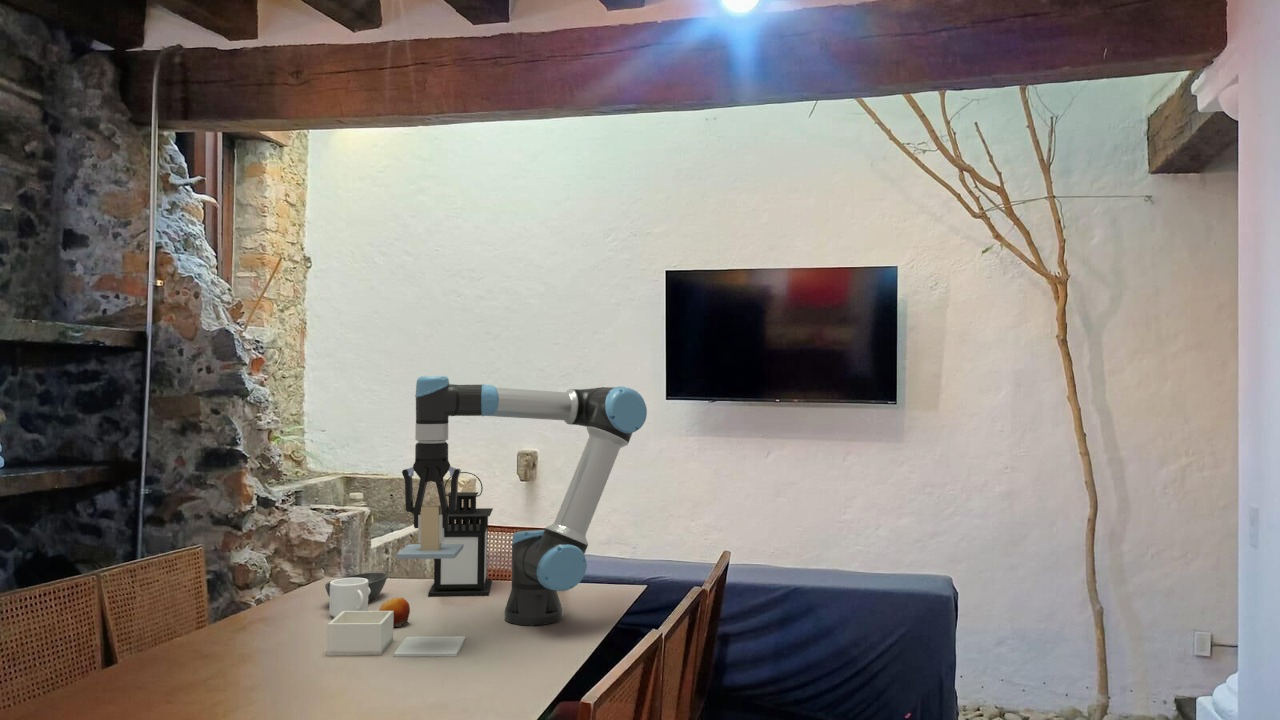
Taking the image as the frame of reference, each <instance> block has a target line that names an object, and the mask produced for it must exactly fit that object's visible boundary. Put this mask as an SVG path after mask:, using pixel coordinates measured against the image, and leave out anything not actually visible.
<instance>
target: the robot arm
mask: <svg viewBox="0 0 1280 720" xmlns="http://www.w3.org/2000/svg"><path fill="white" fill-rule="evenodd" d="M415 384H416V386H415V387H416V388H415V394H414V395H415V396H414V397H415V432H414V433H415V437H414V439H415V441H417V442H416V444H415V451H414V453H415V455H414V459H415V460H414V463H413V465H412V467H409V468H405V469H403V470H402V471H401V473H402V477H403V479H404V492H405V493H404V498H405V499H404V500H405V511H406V512H407V513H411V514H412V515H413V527H414V529H417V533H418V534H417V537H418V538H417V544H421V507H422V506H423V502H424V498H425V493H426V488H427V485H428V483H429V482H433V483H435V486H436V488H437V493H438V498H439V505H441V509H442V513H441V514H440V515H439V543H443V542H444V528H447V527H448V525H449V513H450V512H453V511H455V510H456V509H457V492H458V490H459V489H458V487H459V486H458V485H459V478H460V474H462V473H461V472H462V469H460V468H456V467H453V466H451V464H450V462H449V443H448V442H447V441H448V440H449V418H450V417H455V416H456V417H476V416H477V417H495V418H496V417H498V418H499V417H502V418H515V419H516V418H517V419H518V418H519V419H532V420H533V419H536V420H550V421H551V420H554V421H564V422H565V424H567V425H573V426H580V427H586V430H587V431H586V432H587V433H588V435H589V436H588V439H587V440H586V443H585V446H584V448H583V452H582V453H581V456H580V458H579V460H578V463H577V466H576V469H575V470H574V473H573V476H572V478H571V480H570V483H569V486H568V488H567V491H566V493H565V495H564V498H563V500H562V503H561V505H560V507H559V510H558V513H557V515H556V517H555V520H554V522H553V523H552V524H550V525H547V526H546V527H545V528H544V529H535V530H523V531H521V530H520V531H516V532H514V533H513V535H512V542H511V590H510V593H509V596H508V600H507V602H506V605H505V609H504V621H506V622H507V623H511V624H513V625H519V626H522V625H523V626H541V625H543V626H544V625H548V624H550V625H551V624H554V623H556V622H559V621H561V620H562V619H563V607H562V604H561V600H560V597H559V594H558V592H564V591H565V592H567V591H569V590H571V589H573V588H575V587H576V586H577V585H579V583H581V581H582V580H583V578H584V577H585V575H586V572H587V566H588V565H587V564H588V563H587V560H586V556H585V554H586V552H587V549H588V546H589V543H588V540H587V537H586V536H587V532H588V530H589V528H590V524H591V523H592V520H593V517H594V515H595V512H596V510H597V507H598V505H599V502H600V499H601V497H602V496H603V492H604V489H605V487H606V485H607V482H608V480H609V477H610V474H611V473H612V472H611V471H612V469H613V467H614V464H615V462H616V460H617V457H618V455H619V452H620V450H621V448H624V447H626V446H628V445H629V443H630V440H631V438H632V435H633V433H636V432H637V431H639V430H640V429H641V428H642V427H643V426H644V424H645V422H646V419H647V415H648V409H647V404H646V403H645V399H644V398H643V397H642V395H641V394H640V393H639V392H638V391H637V390H635V389H633V388H630V387H626V386H615V387H614V386H612V387H610V386H607V387H605V386H601V387H594V388H593V387H592V388H582V389H581V388H580V389H578V388H577V389H575V388H570V389H567V391H554V390H553V391H550V390H540V389H539V390H537V389H536V390H535V389H521V388H508V387H496V386H495V385H493V384H484V383H482V384H454V383H453V384H452V383H450V381H449V378H448V376H444V375H442V376H441V375H436V376H435V375H434V376H433V375H431V376H430V375H428V376H427V375H422V376H420V377H418V378H417V380H416V383H415ZM414 472H415V473H414ZM448 472H449V477H451V478H450V492H451V494H450V507H449V501H448V498H447V497H448V496H446V495H447V492H446V487H444V486H445V481H444V478H445V476H446V474H447V473H448ZM414 474H416V475H417V477H419V481H418V482H419V483H418V489H417V495H416V498H415V499H416V500H415V503H414V493H413V476H414ZM414 504H415V505H414Z"/></svg>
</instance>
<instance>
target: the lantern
mask: <svg viewBox="0 0 1280 720" xmlns="http://www.w3.org/2000/svg"><path fill="white" fill-rule="evenodd" d="M460 474H468V475H472V476H474V477H475V478H476V479H477V480H478V482H479V483H480V487H481V489H480V493H479V492H477V491H476V492H475V491H474V492H472V491H471V492H469V491H467V492H465V491H463V492H461V491H460V492H459V491H457V509H456V510H455V511H453V512H450V513H449V525H448V527H447V528H444V542H443V543H441V544H463V549H462V550H461V551H460V553H459V554H458V555H457V556H456V557H455V558H446V559H434V561H433V562H434V565H433V583H432V586H431V587H430V589H429V591H428V593H427V597H428V598H445V597H447V598H450V597H456V598H457V597H489V596H490V591H491V589H492V584H493V580H492V579H488V544H489V543H488V537H489V536H488V535H489V533H488V532H489V531H488V529H489V527H488V526H489V517H490V516H491V514H492V512H493V510H494V508H491V507H490V508H485V507H483V508H482V507H481V508H480V507H479V508H477V498H478V497H481V495H482V493H483V489H484V488H483V483H482V480H481V479H480V478H479V476H477V475H476V474H474V473H472V472H468V471H461V473H460ZM451 478H452V477H451V476H449V478H448V479H447V480H446V481H445V482H444V487H445V488H446V486H447V484H448V482H449V481H450V480H451ZM450 494H451V491H450V492H448V493H446V497H448V507H450ZM441 513H442V511H441Z"/></svg>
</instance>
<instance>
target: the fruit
mask: <svg viewBox="0 0 1280 720" xmlns="http://www.w3.org/2000/svg"><path fill="white" fill-rule="evenodd" d="M410 608H411V607H410V603H409V602H408V601H407V599H405V598H403V597H398V596H397V597H392V598H391V599H388V600H386V601H385V602H383V603H382V604H381V605H380V608H378V609H379V610H378V611H394V620H393V628H395V627H399V628H401V627H402V624H409V625H410V623H409V621H408V620H409V616H410V614H411V613H410V611H411V609H410Z"/></svg>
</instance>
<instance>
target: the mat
mask: <svg viewBox="0 0 1280 720" xmlns="http://www.w3.org/2000/svg"><path fill="white" fill-rule="evenodd" d="M466 638H467V637H466V636H463V635H461V636H452V635H451V636H449V635H447V636H445V635H444V636H406V637H405V639H404V640H402V642H401V643H400V644H399V646H398V647H397V649H396V650H395V651H394V653H393V658H395V657H399V658H400V657H406V658H407V657H411V658H412V657H416V658H417V657H419V658H420V657H457V656H458V654H459V653H460V650H461V648H462V646H463V645H464V643H465V640H466Z"/></svg>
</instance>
